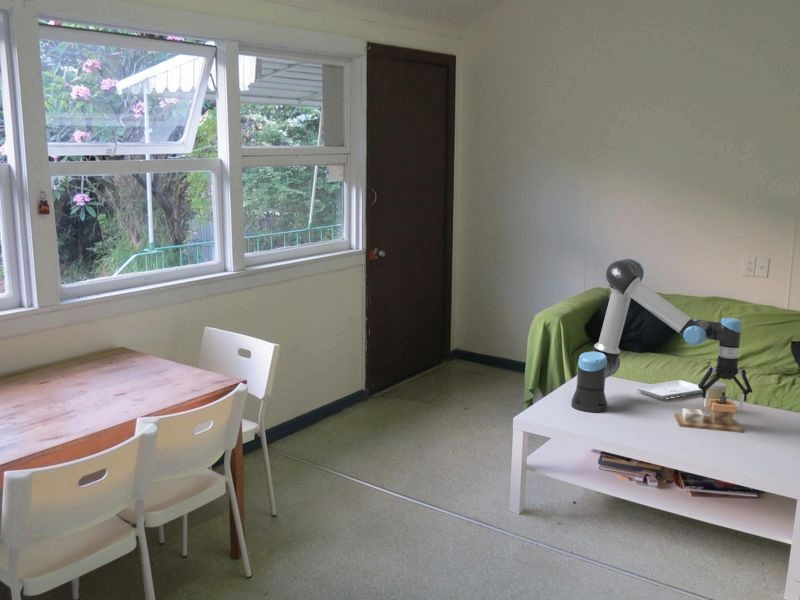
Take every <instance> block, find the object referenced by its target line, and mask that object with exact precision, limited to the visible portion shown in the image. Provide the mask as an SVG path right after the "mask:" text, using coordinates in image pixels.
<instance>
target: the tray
mask: <svg viewBox="0 0 800 600" xmlns="http://www.w3.org/2000/svg"><path fill="white" fill-rule="evenodd" d="M698 385H699V384H697V383H696V384H695V383H694V382H689V381H685V380H682V379H674V380H670V381H665V382H657V383H651V384H642V385H637V386H635V387H634V388H635V390H637V391H638V392H640V393H642V394H643V393H645V394H644V395H646V394H647V395H646V396H648V395H650V396H649V397H651V396H653V397H652V398H654V397H656V398H655V399H657V398H659V399H658V400H660V399H665V400H667V399H666V398H671V397H677V396H683V395H689V394H695V395H698V394H700V393H702V389H700V388H699V387H698ZM664 389H665V390H664ZM666 389H667V390H666ZM671 390H672V391H674V390H677V391H676V392H670V391H671ZM678 391H680V392H678ZM689 396H690V395H689ZM683 397H684V396H683ZM677 398H678V397H677ZM671 399H672V398H671Z"/></svg>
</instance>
